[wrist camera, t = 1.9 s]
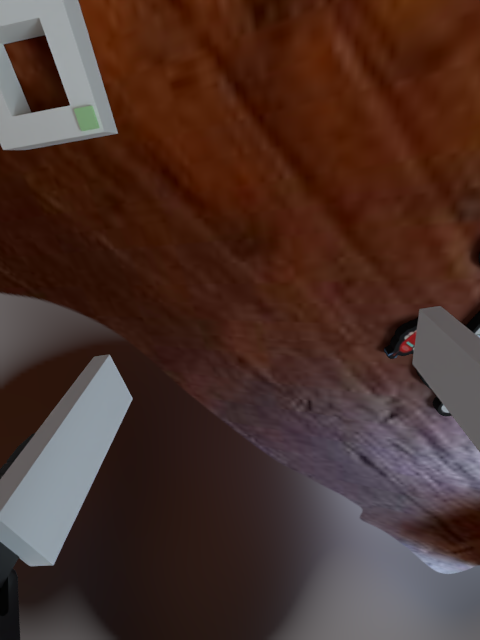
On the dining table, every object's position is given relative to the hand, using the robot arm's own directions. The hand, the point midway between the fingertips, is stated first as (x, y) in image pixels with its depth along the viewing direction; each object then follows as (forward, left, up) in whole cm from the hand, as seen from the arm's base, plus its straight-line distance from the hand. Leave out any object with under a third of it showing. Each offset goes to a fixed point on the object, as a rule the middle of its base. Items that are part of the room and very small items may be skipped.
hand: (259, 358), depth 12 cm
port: (-16, -17, -23) cm, 33 cm away
